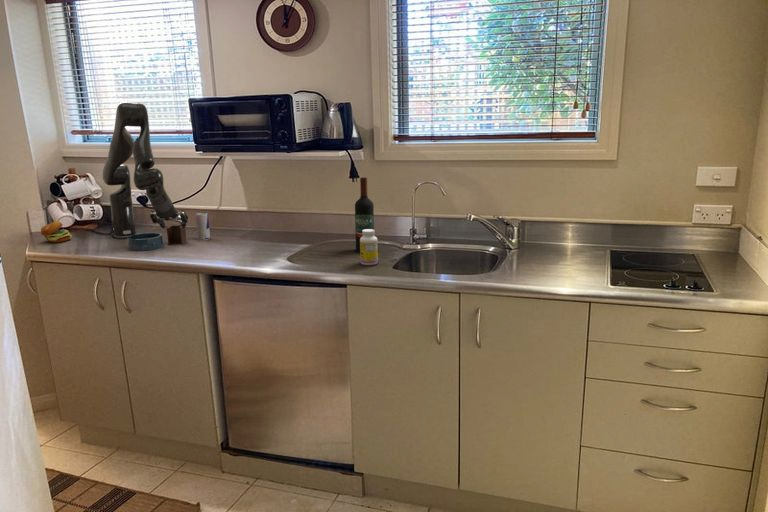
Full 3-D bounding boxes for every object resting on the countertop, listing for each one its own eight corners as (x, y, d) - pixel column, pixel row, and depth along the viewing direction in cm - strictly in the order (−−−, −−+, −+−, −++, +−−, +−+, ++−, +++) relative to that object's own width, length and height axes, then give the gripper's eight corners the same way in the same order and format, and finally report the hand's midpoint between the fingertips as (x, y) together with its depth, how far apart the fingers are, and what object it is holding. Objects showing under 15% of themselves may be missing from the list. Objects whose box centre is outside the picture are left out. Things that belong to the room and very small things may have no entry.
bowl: (122, 249, 241) (120, 237, 239) (150, 243, 252) (148, 231, 250) (141, 253, 233) (140, 240, 232) (170, 247, 244) (168, 234, 243)
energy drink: (212, 238, 260) (209, 212, 257) (207, 241, 255) (205, 214, 252) (200, 238, 261) (198, 212, 258) (195, 241, 255) (193, 214, 252)
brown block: (182, 245, 247) (180, 227, 245) (168, 246, 247) (166, 227, 245) (186, 242, 253) (184, 224, 251) (173, 242, 252) (171, 225, 250)
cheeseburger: (74, 240, 257) (64, 220, 253) (48, 249, 252) (39, 229, 248) (71, 236, 265) (62, 216, 262) (46, 245, 260) (37, 224, 257)
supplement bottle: (359, 261, 219) (359, 228, 216) (377, 260, 219) (376, 228, 216) (360, 266, 212) (360, 232, 209) (378, 265, 213) (378, 231, 210)
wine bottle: (376, 249, 238) (375, 176, 230) (370, 253, 231) (369, 179, 223) (359, 247, 240) (358, 176, 233) (353, 251, 233) (351, 178, 226)
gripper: (181, 196, 234) (192, 219, 247) (146, 197, 233) (158, 219, 247) (178, 211, 230) (189, 233, 244) (142, 212, 229) (155, 234, 243)
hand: (174, 226), depth 245 cm, fingers open, 8 cm apart
